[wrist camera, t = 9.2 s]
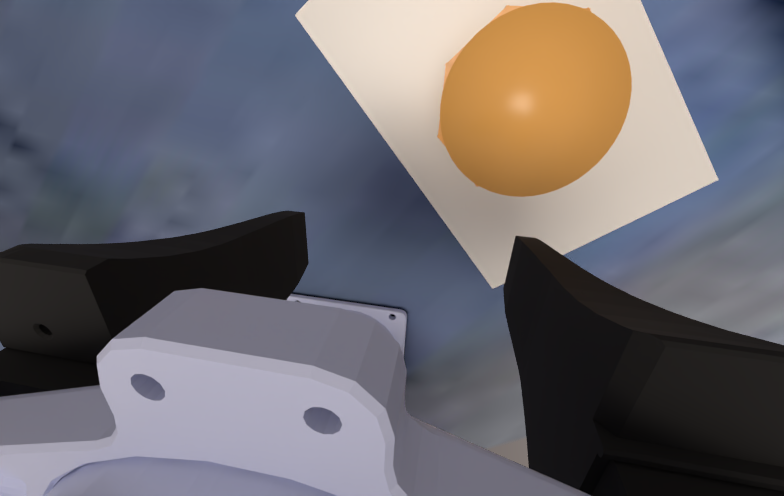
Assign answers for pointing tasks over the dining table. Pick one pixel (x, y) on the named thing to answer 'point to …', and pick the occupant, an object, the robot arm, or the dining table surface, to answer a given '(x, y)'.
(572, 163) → the cap
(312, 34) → the plate
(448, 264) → the dining table surface
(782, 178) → the dining table surface
